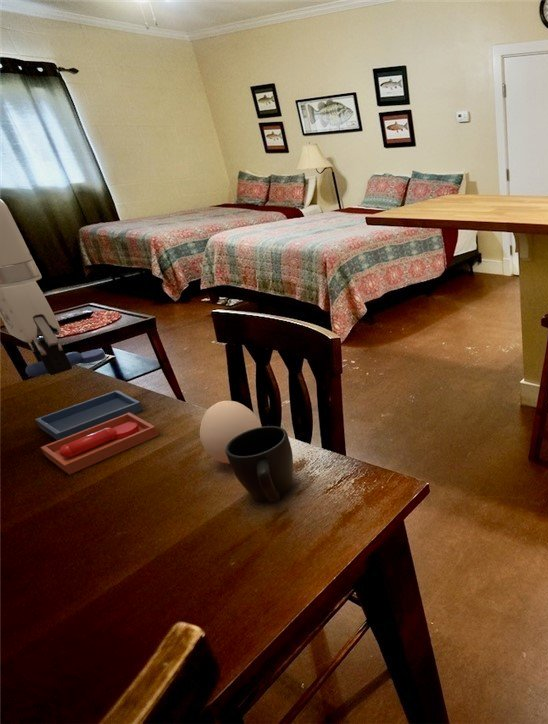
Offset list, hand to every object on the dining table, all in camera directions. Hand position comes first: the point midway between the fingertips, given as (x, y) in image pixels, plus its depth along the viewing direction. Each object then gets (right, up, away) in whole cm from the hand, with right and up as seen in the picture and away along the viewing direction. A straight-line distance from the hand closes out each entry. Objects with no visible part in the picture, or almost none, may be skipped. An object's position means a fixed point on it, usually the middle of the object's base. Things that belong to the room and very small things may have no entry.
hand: (57, 369), depth 88 cm
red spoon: (+11, -13, -2) cm, 17 cm away
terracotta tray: (+10, -14, -2) cm, 18 cm away
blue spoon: (+1, +1, +2) cm, 2 cm away
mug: (+49, -20, -14) cm, 55 cm away
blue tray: (+1, -10, +6) cm, 12 cm away
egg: (+38, -16, -6) cm, 42 cm away
